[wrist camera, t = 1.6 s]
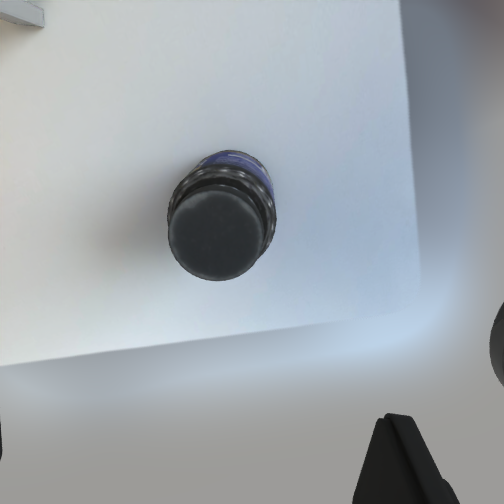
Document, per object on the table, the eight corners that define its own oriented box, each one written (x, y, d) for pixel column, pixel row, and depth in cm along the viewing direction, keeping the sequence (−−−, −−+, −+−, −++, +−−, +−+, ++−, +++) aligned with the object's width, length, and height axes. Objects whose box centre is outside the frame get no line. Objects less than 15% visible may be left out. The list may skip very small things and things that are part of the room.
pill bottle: (198, 140, 29) (162, 159, 19) (282, 160, 29) (293, 189, 19) (183, 222, 31) (144, 280, 21) (262, 240, 32) (262, 306, 21)
